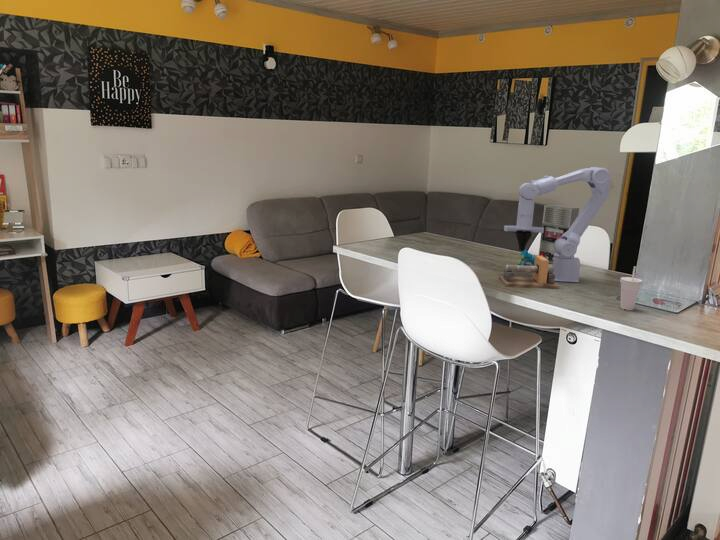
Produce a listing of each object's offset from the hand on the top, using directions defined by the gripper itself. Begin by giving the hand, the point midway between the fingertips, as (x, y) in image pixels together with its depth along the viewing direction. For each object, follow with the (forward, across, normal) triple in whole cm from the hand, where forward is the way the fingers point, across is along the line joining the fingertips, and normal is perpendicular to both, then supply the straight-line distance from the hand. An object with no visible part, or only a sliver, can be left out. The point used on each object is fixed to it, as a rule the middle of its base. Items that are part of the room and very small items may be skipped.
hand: (521, 250), depth 213 cm
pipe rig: (+10, -1, +10) cm, 14 cm away
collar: (+9, -5, +10) cm, 14 cm away
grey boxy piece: (+11, -23, -30) cm, 39 cm away
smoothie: (+11, -25, +38) cm, 47 cm away
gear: (+11, -9, -21) cm, 25 cm away
